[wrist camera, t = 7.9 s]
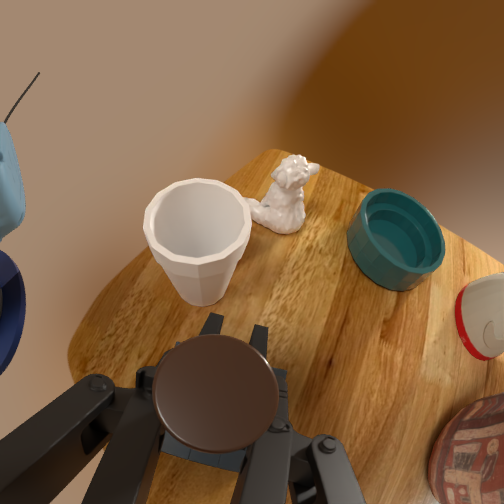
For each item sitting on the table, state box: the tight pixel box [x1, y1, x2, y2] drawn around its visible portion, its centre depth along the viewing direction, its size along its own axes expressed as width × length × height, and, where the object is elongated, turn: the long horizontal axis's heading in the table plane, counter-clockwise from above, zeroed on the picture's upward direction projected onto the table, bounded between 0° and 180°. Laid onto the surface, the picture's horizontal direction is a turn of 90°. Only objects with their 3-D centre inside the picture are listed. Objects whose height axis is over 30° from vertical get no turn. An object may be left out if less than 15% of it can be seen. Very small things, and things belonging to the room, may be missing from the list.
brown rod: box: [152, 334, 279, 454], centre depth 13 cm, size 2×2×22 cm
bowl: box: [347, 188, 445, 291], centre depth 39 cm, size 15×15×6 cm
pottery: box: [428, 392, 504, 504], centre depth 17 cm, size 18×18×18 cm
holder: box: [161, 342, 287, 472], centre depth 25 cm, size 11×11×6 cm
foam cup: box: [143, 178, 252, 307], centre depth 30 cm, size 10×9×13 cm
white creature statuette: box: [243, 155, 320, 234], centre depth 38 cm, size 10×9×12 cm
